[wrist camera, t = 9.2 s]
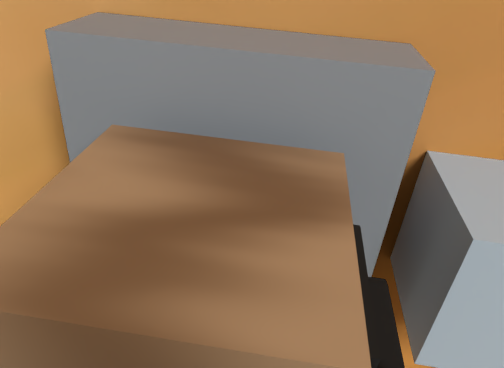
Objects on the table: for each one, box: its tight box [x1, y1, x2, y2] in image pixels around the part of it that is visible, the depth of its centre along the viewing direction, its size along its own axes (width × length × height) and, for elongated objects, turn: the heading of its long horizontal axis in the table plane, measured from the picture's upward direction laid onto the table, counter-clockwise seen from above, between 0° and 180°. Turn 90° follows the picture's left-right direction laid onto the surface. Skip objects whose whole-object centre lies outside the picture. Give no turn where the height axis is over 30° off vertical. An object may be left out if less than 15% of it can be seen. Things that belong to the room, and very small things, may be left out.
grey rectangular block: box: [45, 12, 435, 277], centre depth 14 cm, size 10×10×3 cm
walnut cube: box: [0, 125, 371, 368], centre depth 9 cm, size 6×6×6 cm
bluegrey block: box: [390, 151, 504, 368], centre depth 13 cm, size 5×5×5 cm
